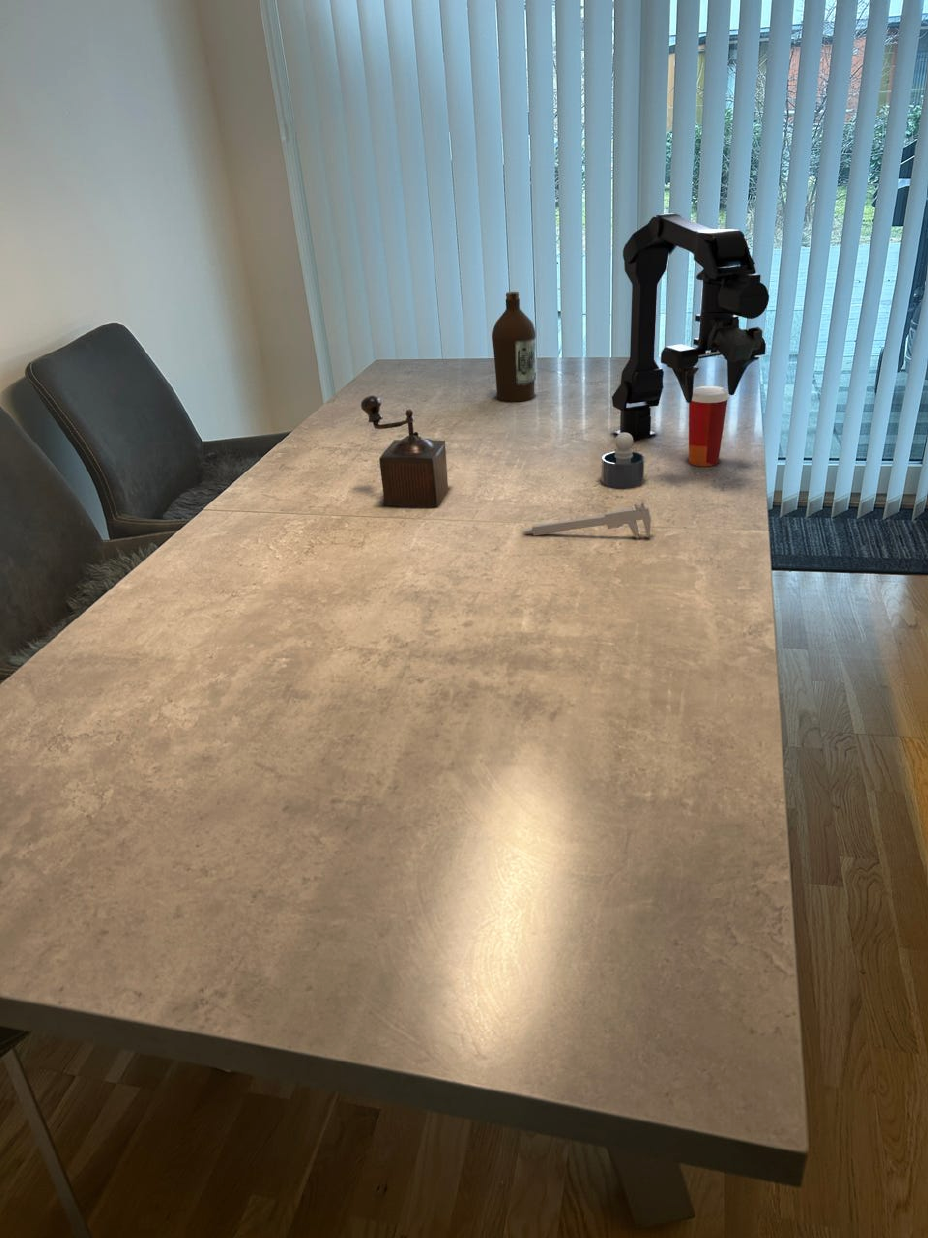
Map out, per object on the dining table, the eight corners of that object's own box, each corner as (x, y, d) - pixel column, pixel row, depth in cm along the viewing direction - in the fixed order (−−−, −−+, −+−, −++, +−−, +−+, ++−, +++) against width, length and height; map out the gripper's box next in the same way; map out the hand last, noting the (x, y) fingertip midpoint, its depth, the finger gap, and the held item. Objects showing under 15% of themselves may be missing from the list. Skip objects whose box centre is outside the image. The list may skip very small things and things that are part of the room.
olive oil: (485, 398, 224) (481, 294, 212) (514, 389, 230) (511, 287, 218) (516, 405, 217) (513, 297, 205) (545, 395, 223) (544, 290, 211)
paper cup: (720, 454, 177) (726, 384, 170) (726, 467, 170) (733, 394, 164) (680, 455, 178) (684, 385, 171) (685, 468, 171) (689, 396, 165)
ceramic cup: (593, 479, 169) (593, 456, 167) (626, 471, 172) (627, 448, 170) (618, 491, 163) (618, 467, 161) (651, 482, 166) (652, 458, 164)
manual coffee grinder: (451, 486, 170) (444, 392, 162) (437, 507, 161) (430, 409, 152) (373, 484, 174) (363, 392, 165) (356, 506, 164) (344, 409, 155)
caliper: (650, 536, 145) (651, 500, 142) (649, 539, 144) (651, 502, 141) (525, 532, 149) (525, 497, 146) (524, 535, 148) (524, 499, 145)
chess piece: (642, 478, 167) (644, 431, 163) (626, 486, 164) (627, 439, 160) (619, 472, 171) (620, 426, 166) (602, 480, 167) (603, 434, 163)
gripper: (699, 323, 145) (693, 417, 152) (792, 309, 151) (781, 400, 158) (661, 313, 154) (656, 402, 162) (749, 300, 160) (741, 387, 167)
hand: (710, 398), depth 162 cm, fingers open, 9 cm apart
